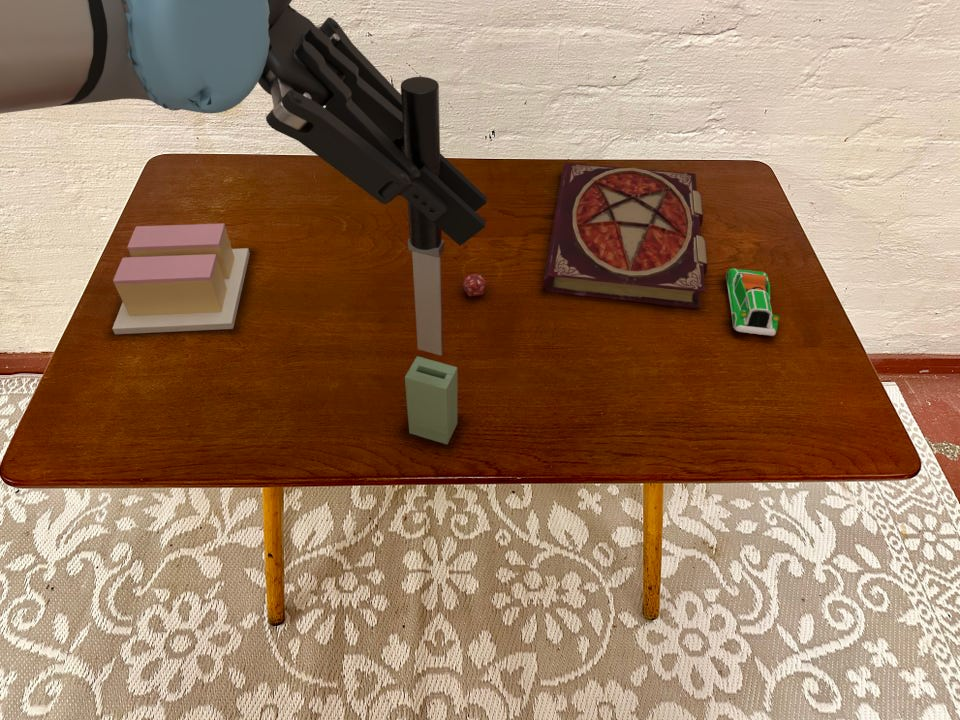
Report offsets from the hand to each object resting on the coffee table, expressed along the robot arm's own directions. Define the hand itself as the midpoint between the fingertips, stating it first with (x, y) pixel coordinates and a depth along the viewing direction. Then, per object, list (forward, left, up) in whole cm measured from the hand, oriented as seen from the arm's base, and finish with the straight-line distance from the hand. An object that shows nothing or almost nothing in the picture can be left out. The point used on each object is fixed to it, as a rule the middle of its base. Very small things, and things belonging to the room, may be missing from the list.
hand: (473, 221), depth 54 cm
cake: (-16, +40, -27) cm, 51 cm away
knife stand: (-3, +2, -27) cm, 27 cm away
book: (+39, +15, -27) cm, 50 cm away
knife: (-3, +2, -15) cm, 16 cm away
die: (+14, +18, -27) cm, 35 cm away
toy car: (+41, -5, -27) cm, 50 cm away
